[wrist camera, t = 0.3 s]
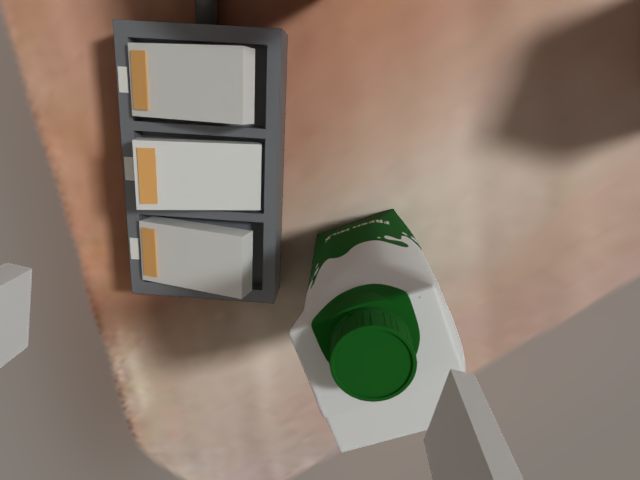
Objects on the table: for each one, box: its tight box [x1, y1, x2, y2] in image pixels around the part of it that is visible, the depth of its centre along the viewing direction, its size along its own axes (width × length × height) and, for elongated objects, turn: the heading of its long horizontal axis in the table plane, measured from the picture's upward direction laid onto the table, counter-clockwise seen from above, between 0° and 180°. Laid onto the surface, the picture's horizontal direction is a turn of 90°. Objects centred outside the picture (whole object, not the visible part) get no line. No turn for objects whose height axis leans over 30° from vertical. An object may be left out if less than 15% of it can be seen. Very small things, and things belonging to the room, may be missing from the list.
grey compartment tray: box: [113, 0, 288, 303], centre depth 36 cm, size 27×12×4 cm, turn 177°
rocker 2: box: [132, 138, 262, 210], centre depth 35 cm, size 5×9×2 cm, turn 87°
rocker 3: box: [139, 216, 253, 299], centre depth 37 cm, size 5×9×2 cm, turn 87°
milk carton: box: [289, 209, 466, 452], centre depth 31 cm, size 9×9×20 cm
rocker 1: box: [128, 43, 255, 125], centre depth 33 cm, size 5×9×2 cm, turn 87°
